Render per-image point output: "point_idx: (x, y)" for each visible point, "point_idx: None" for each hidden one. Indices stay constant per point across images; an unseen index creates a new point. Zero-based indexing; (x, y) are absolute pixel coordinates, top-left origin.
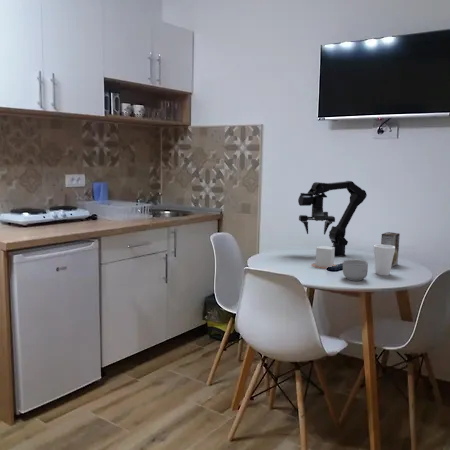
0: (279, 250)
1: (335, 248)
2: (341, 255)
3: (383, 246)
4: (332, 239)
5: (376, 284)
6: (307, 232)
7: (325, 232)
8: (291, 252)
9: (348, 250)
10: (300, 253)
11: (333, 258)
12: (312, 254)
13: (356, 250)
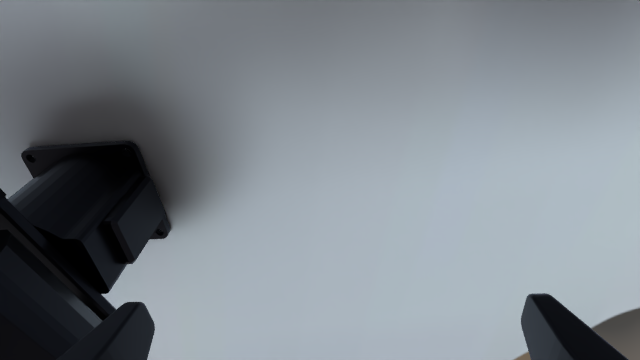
0: (629, 291)
1: (92, 207)
2: (61, 147)
3: None
4: (71, 297)
5: None
6: (571, 322)
7: (88, 337)
8: (545, 233)
9: None
10: (466, 205)
11: None
12: (351, 180)
13: None
